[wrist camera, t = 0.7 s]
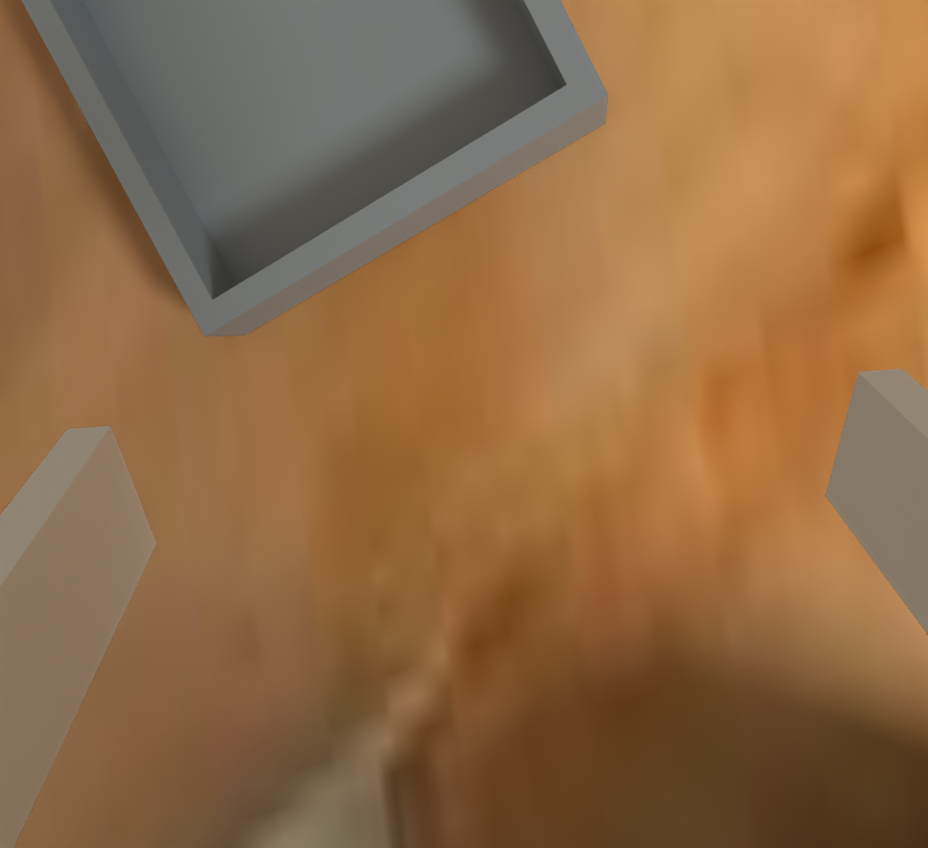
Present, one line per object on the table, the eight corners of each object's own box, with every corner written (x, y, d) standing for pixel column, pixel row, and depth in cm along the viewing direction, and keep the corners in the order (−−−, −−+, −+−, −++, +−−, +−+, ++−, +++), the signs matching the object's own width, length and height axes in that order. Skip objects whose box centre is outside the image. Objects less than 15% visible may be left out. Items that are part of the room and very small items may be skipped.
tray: (605, 123, 32) (608, 95, 28) (244, 335, 36) (204, 336, 33) (394, -292, 31) (367, -379, 28) (49, -26, 36) (-17, -70, 32)
